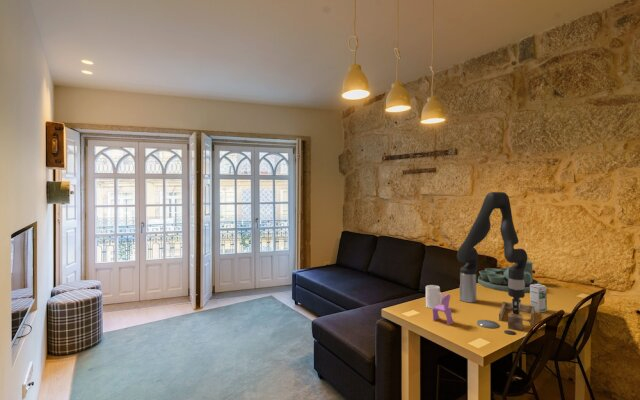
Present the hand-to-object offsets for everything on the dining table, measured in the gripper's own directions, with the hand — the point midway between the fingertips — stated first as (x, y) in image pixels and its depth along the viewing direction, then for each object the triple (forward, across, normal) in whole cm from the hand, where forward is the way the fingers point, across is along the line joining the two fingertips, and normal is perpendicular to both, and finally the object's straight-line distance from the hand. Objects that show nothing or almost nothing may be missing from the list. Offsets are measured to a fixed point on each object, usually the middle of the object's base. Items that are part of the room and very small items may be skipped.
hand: (516, 318), depth 180 cm
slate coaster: (+2, +12, -12) cm, 17 cm away
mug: (+2, -1, -42) cm, 42 cm away
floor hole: (+2, +18, -2) cm, 18 cm away
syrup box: (+2, -25, +10) cm, 26 cm away
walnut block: (+2, +10, 0) cm, 10 cm away
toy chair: (+2, +19, -33) cm, 38 cm away
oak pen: (+2, -9, 0) cm, 9 cm away
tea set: (+2, -78, -10) cm, 78 cm away
